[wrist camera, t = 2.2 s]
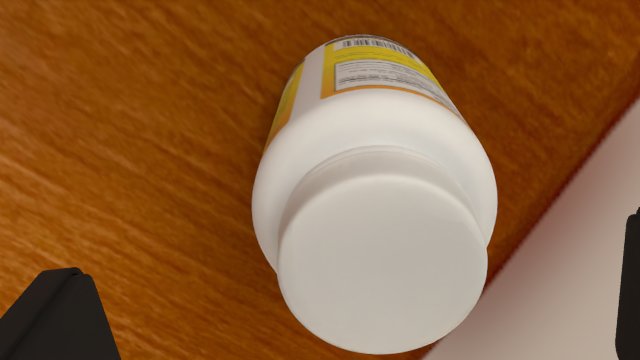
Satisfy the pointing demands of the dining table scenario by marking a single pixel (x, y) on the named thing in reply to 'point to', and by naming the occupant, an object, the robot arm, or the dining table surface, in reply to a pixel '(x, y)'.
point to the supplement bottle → (373, 199)
